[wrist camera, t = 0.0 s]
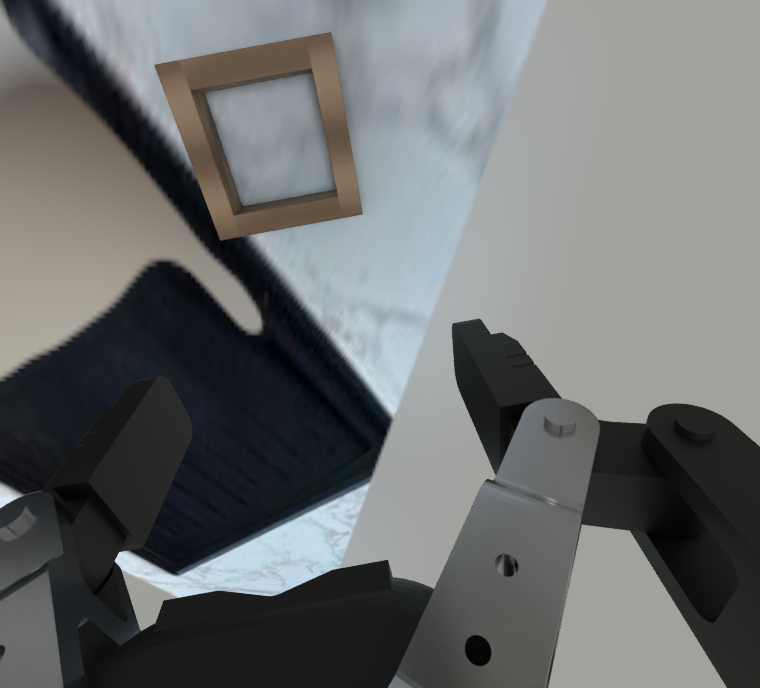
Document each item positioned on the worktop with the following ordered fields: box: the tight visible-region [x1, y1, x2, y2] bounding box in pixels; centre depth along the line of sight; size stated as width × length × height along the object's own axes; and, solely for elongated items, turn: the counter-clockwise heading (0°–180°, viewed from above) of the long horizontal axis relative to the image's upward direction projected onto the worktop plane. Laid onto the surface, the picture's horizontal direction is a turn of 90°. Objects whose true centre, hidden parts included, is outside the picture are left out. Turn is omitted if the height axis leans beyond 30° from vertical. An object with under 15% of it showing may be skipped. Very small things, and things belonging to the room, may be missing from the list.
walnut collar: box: [155, 32, 363, 240], centre depth 32 cm, size 13×13×4 cm
